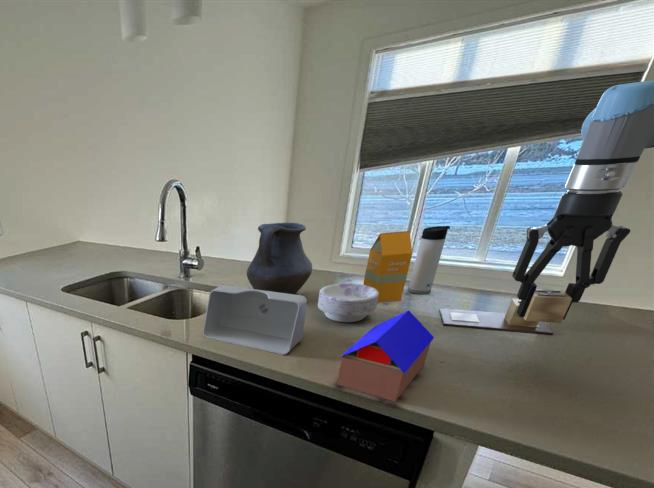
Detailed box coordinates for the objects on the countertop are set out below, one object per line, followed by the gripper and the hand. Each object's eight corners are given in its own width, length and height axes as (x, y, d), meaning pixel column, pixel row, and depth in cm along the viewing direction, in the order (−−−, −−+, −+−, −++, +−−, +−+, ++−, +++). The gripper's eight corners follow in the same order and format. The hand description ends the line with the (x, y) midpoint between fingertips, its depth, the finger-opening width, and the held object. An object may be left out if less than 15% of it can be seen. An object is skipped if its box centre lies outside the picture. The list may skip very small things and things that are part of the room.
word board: (538, 317, 106) (540, 315, 106) (552, 335, 97) (553, 332, 97) (439, 310, 116) (439, 307, 115) (443, 325, 107) (443, 323, 106)
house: (334, 384, 86) (343, 334, 80) (369, 351, 98) (379, 305, 92) (396, 403, 79) (411, 349, 73) (426, 364, 90) (441, 315, 84)
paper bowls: (309, 321, 116) (312, 295, 112) (324, 305, 127) (328, 280, 123) (366, 330, 108) (372, 302, 104) (378, 312, 118) (384, 286, 114)
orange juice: (401, 300, 125) (417, 233, 115) (372, 302, 125) (386, 235, 115) (388, 292, 132) (402, 228, 121) (360, 294, 132) (373, 231, 122)
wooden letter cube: (552, 313, 83) (563, 289, 80) (561, 323, 79) (572, 297, 76) (518, 311, 85) (528, 287, 82) (525, 320, 81) (535, 296, 78)
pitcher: (318, 294, 136) (329, 215, 123) (291, 314, 122) (301, 228, 110) (261, 286, 148) (266, 214, 136) (231, 304, 134) (234, 225, 122)
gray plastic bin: (311, 333, 110) (317, 288, 103) (288, 355, 99) (293, 307, 93) (229, 318, 124) (230, 278, 118) (201, 336, 114) (201, 293, 108)
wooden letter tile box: (531, 318, 104) (539, 299, 102) (536, 326, 100) (545, 306, 98) (504, 316, 107) (511, 297, 104) (509, 324, 103) (516, 304, 100)
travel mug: (432, 294, 127) (452, 228, 116) (408, 293, 129) (425, 228, 119) (430, 288, 131) (448, 224, 121) (406, 287, 134) (422, 224, 124)
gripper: (530, 195, 71) (486, 318, 83) (682, 190, 63) (610, 327, 75) (519, 190, 77) (480, 306, 89) (658, 185, 69) (594, 313, 81)
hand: (539, 315), depth 82 cm, fingers closed on wooden letter cube, 5 cm apart
